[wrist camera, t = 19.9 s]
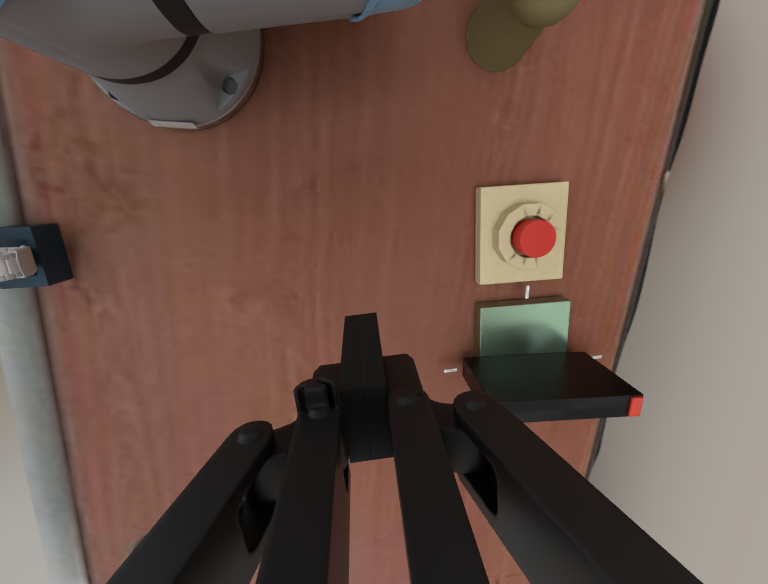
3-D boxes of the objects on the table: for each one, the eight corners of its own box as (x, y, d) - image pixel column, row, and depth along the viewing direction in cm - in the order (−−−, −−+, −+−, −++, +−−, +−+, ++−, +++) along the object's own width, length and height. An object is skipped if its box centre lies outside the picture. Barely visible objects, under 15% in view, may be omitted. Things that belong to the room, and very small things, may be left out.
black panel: (462, 375, 41) (490, 426, 33) (463, 357, 41) (492, 404, 32) (582, 369, 42) (641, 417, 33) (584, 351, 42) (645, 396, 33)
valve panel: (438, 287, 41) (442, 293, 38) (598, 274, 41) (610, 279, 39) (441, 428, 46) (445, 440, 44) (583, 414, 46) (594, 425, 44)
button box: (475, 187, 38) (486, 187, 34) (560, 181, 38) (580, 181, 35) (475, 281, 41) (485, 289, 37) (554, 274, 41) (571, 282, 38)
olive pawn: (535, 59, 35) (612, 3, 24) (475, 81, 35) (525, 35, 25) (521, -14, 33) (597, -107, 23) (457, 10, 33) (504, -71, 23)
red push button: (512, 219, 36) (520, 221, 34) (548, 216, 36) (557, 218, 34) (511, 255, 37) (518, 259, 35) (545, 253, 37) (555, 256, 35)
